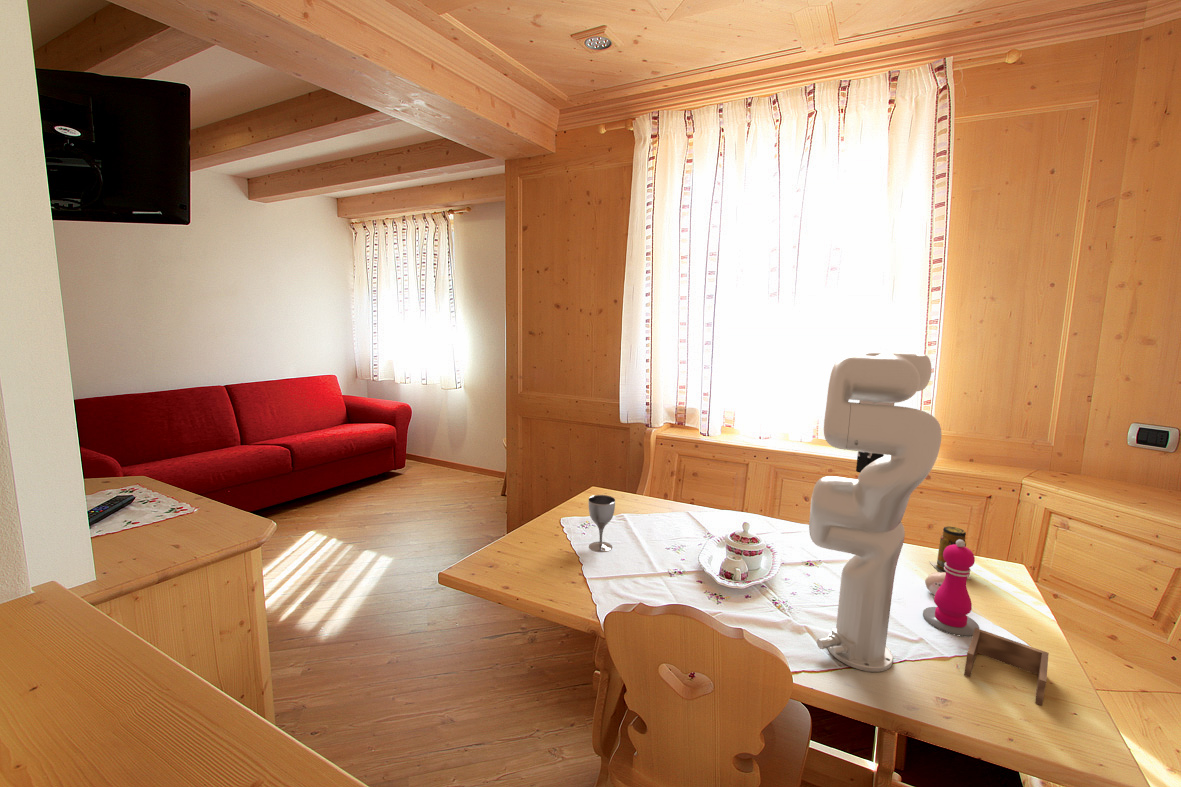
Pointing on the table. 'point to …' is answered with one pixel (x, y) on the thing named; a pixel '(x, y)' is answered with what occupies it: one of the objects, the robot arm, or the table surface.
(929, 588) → the beige plush toy
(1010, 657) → the cradle
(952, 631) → the coaster
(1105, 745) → the table surface
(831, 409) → the robot arm
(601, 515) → the wine glass
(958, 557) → the pepper mill
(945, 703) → the table surface
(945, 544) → the condiment
